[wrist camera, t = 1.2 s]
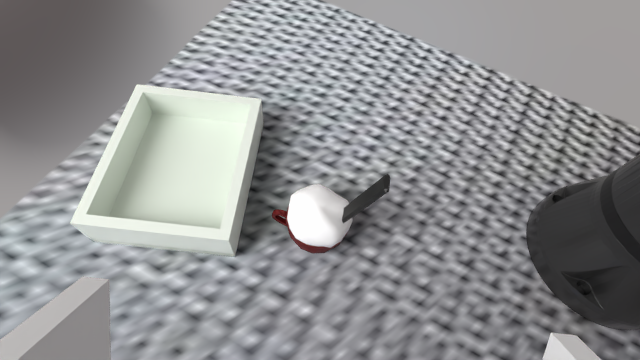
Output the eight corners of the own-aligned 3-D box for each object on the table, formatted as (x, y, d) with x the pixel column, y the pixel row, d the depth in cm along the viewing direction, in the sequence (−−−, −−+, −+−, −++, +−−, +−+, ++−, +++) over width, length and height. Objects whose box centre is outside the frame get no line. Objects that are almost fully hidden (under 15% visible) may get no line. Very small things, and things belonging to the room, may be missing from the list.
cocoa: (267, 235, 38) (250, 176, 28) (300, 190, 41) (295, 122, 30) (346, 283, 35) (359, 239, 25) (375, 232, 38) (398, 173, 28)
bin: (263, 124, 45) (261, 99, 41) (235, 257, 36) (228, 240, 32) (150, 111, 44) (136, 84, 41) (93, 241, 36) (69, 223, 32)
